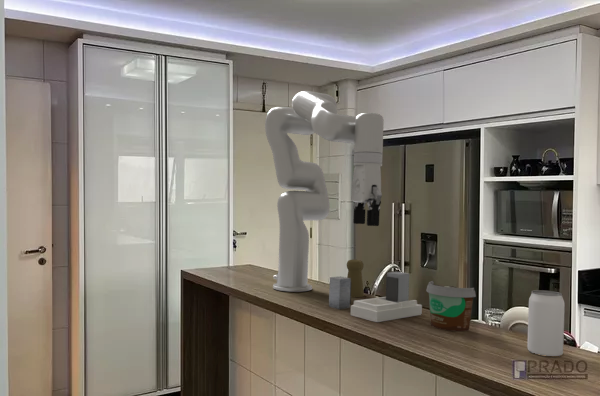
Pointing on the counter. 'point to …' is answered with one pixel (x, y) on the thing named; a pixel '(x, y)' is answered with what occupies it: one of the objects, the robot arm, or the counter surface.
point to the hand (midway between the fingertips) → (365, 224)
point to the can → (546, 323)
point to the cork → (355, 277)
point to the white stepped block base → (389, 301)
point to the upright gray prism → (340, 292)
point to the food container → (450, 307)
